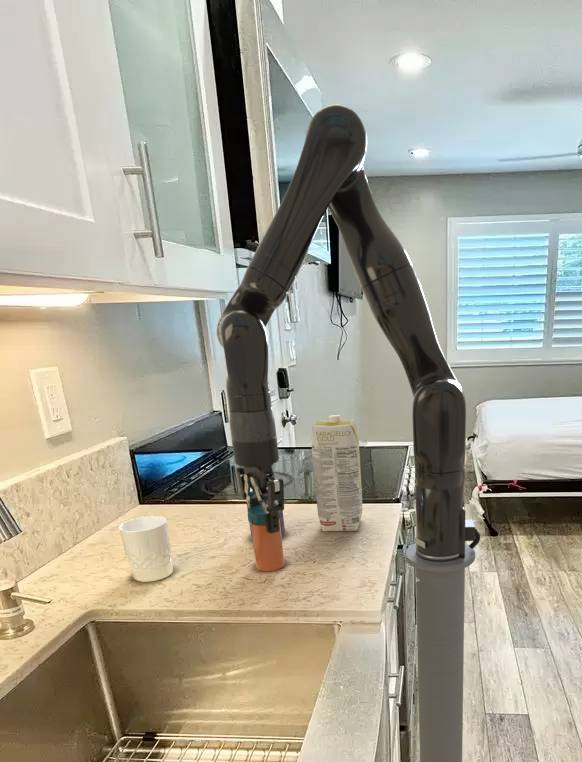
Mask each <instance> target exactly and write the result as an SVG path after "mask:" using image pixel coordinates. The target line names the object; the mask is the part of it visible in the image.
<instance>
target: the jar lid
mask: <svg viewBox="0 0 582 762" xmlns="http://www.w3.org/2000/svg"><path fill="white" fill-rule="evenodd" d="M278 519H280V511H278ZM247 520H248V522H250V523H252V524H266V521H265V512H264V509H263V506H262V504H261V505H256V506H253V507H251V508H249V509H247Z"/></svg>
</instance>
